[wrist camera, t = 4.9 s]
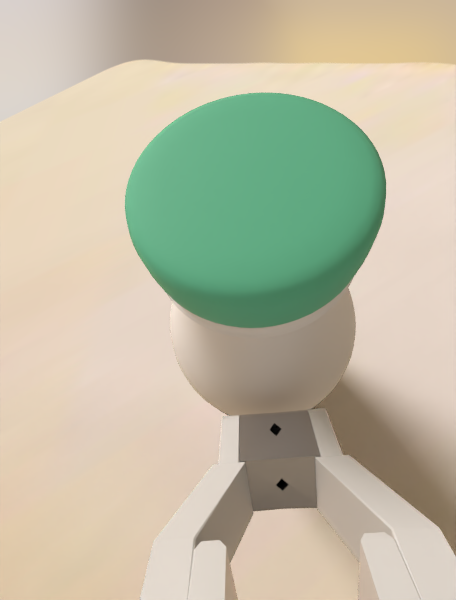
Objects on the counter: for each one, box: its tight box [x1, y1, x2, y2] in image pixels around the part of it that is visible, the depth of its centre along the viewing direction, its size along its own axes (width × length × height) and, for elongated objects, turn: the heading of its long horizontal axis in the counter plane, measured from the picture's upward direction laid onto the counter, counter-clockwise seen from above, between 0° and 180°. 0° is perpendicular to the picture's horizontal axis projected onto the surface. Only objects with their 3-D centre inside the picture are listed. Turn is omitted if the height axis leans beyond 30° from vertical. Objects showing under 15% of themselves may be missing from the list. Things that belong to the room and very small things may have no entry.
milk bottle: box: [125, 93, 386, 416], centre depth 14 cm, size 8×8×20 cm
